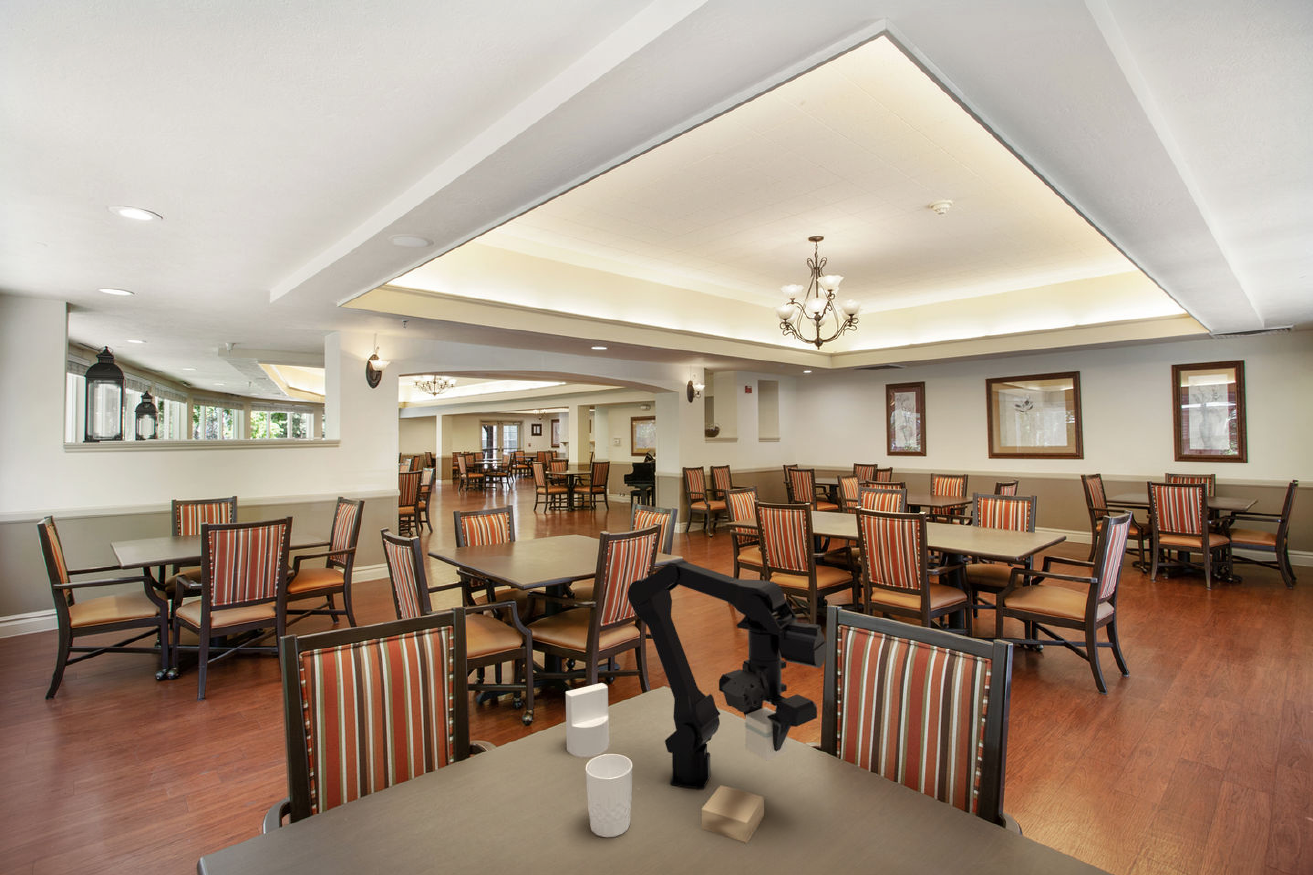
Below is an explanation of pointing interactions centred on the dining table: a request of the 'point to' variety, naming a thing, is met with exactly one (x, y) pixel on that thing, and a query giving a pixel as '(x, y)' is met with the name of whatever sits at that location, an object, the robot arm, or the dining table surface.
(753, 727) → the white banded box
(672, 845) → the dining table surface
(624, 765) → the white cup
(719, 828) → the oak block
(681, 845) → the dining table surface
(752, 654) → the robot arm
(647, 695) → the dining table surface
